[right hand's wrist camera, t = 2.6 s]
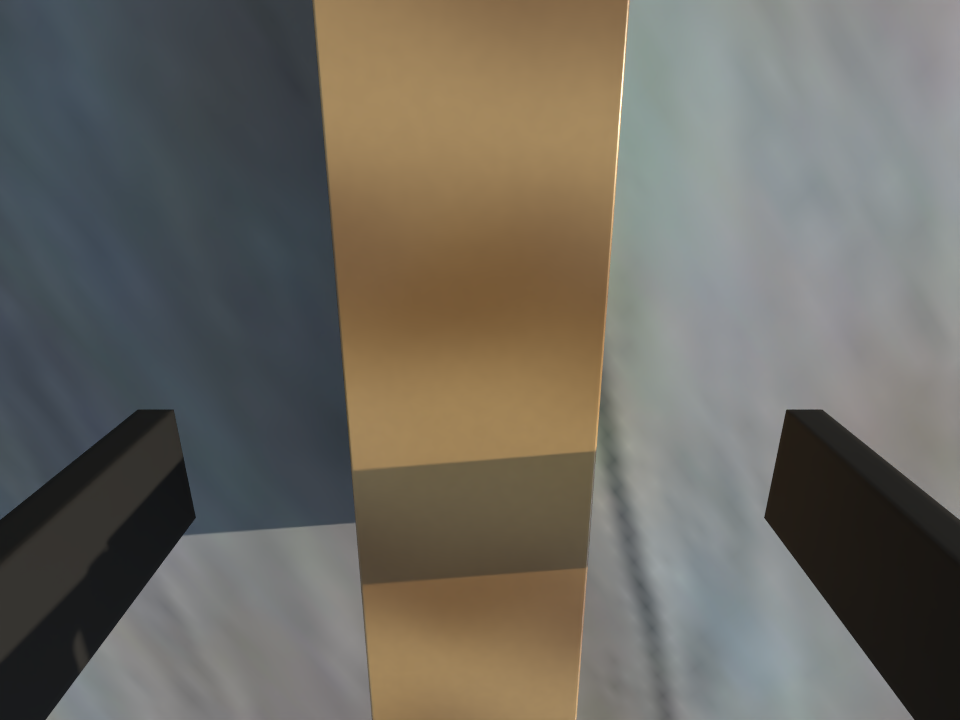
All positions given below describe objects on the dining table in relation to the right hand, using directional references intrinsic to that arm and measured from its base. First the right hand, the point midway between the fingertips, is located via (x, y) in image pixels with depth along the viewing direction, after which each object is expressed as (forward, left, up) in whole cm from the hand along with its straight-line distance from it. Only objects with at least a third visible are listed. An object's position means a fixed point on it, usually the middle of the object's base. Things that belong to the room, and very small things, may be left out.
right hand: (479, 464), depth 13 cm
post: (+20, +23, -8) cm, 31 cm away
